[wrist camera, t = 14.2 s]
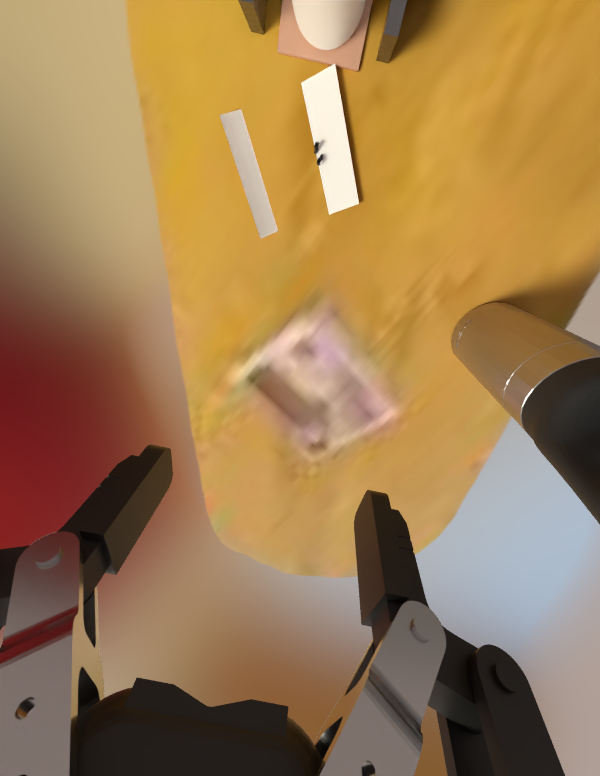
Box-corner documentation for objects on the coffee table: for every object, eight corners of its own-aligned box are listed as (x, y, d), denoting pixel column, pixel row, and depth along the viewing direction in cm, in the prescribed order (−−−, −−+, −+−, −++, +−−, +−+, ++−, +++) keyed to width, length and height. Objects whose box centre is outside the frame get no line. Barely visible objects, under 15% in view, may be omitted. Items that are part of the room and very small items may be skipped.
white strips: (357, 204, 34) (359, 203, 32) (263, 238, 36) (260, 238, 34) (333, 67, 28) (334, 57, 26) (224, 118, 30) (218, 112, 29)
